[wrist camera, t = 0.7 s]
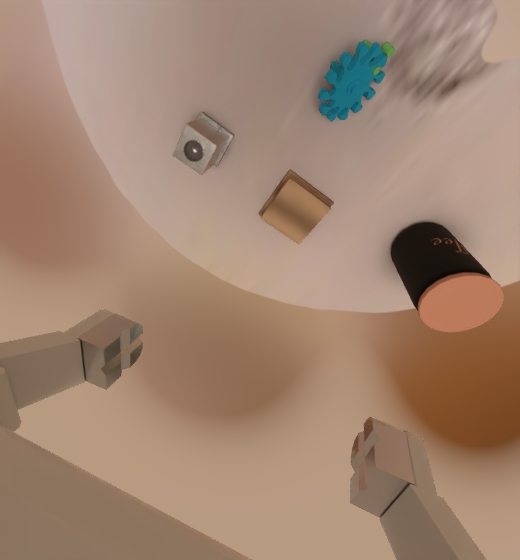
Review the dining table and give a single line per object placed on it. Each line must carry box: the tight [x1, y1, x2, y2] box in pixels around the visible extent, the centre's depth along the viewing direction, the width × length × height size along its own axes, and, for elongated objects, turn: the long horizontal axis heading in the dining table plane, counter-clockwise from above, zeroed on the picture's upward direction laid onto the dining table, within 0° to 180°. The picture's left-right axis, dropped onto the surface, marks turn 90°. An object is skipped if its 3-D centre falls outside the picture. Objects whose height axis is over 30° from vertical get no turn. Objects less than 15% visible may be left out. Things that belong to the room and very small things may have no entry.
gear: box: [318, 40, 395, 122], centre depth 39 cm, size 11×6×10 cm
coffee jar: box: [391, 223, 504, 332], centre depth 47 cm, size 11×11×18 cm
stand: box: [259, 170, 334, 244], centre depth 52 cm, size 10×10×3 cm
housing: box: [173, 112, 234, 175], centre depth 45 cm, size 6×6×10 cm
